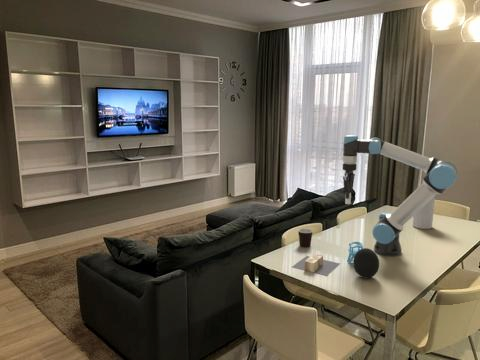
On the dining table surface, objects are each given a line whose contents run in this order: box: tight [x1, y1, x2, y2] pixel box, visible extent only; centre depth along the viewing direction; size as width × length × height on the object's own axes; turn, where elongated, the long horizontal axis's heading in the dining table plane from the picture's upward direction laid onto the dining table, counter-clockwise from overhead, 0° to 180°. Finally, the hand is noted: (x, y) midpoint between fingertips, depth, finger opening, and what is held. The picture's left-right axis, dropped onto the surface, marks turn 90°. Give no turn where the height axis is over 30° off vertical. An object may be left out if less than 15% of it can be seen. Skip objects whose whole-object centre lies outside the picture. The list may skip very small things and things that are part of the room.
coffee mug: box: [297, 228, 313, 248], centre depth 239 cm, size 12×9×10 cm
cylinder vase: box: [412, 195, 436, 230], centre depth 272 cm, size 12×12×25 cm
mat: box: [291, 255, 341, 277], centre depth 209 cm, size 20×19×1 cm
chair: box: [346, 241, 364, 265], centre depth 212 cm, size 8×8×12 cm
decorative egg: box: [352, 247, 380, 279], centre depth 194 cm, size 12×12×15 cm
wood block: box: [305, 253, 324, 273], centre depth 206 cm, size 5×5×12 cm
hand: (347, 203), depth 223 cm, fingers closed
